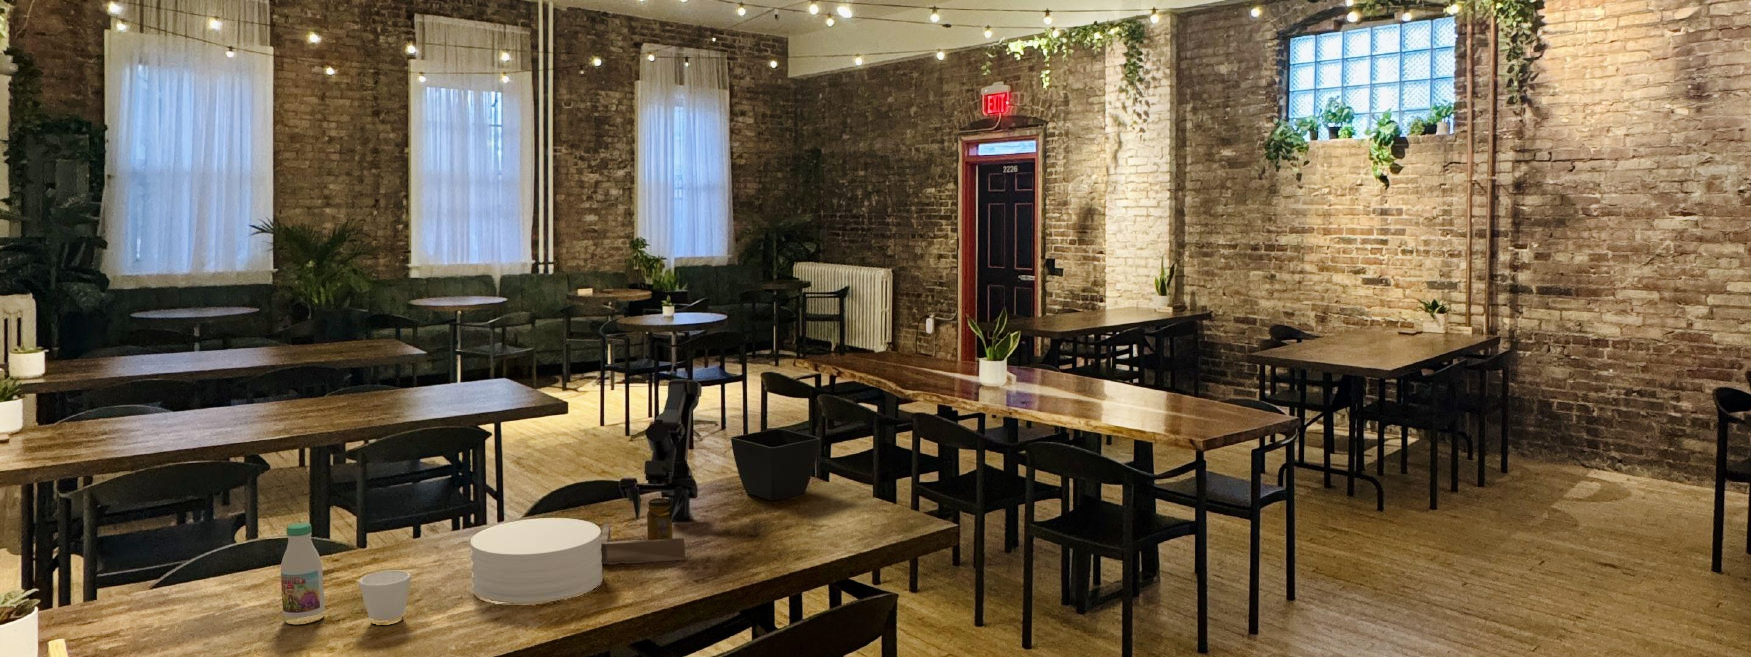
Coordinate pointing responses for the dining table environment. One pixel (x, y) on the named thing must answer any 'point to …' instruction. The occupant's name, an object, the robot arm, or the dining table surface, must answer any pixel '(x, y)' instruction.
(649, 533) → the condiment
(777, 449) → the flower pot
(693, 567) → the dining table surface
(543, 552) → the plate stack
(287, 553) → the milk bottle
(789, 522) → the dining table surface
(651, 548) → the corner arena
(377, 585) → the cup
